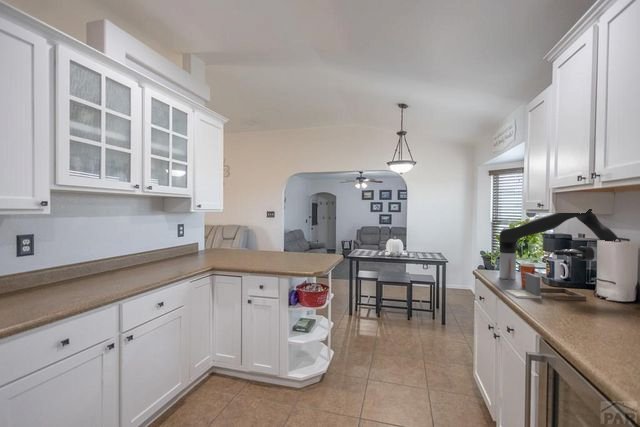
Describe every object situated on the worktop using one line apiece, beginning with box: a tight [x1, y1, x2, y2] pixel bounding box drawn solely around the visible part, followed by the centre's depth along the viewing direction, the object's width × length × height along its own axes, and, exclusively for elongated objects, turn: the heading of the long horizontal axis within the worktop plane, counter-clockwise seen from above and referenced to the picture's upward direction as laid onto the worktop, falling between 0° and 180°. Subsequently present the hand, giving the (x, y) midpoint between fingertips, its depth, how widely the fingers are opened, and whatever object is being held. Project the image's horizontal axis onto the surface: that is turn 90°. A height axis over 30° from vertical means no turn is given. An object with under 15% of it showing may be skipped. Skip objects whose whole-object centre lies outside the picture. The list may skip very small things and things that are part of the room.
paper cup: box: [519, 261, 536, 288], centre depth 183 cm, size 8×8×14 cm
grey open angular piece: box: [504, 273, 542, 299], centre depth 166 cm, size 12×12×11 cm
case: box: [540, 287, 587, 301], centre depth 164 cm, size 16×15×2 cm
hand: (554, 252), depth 164 cm, fingers closed
